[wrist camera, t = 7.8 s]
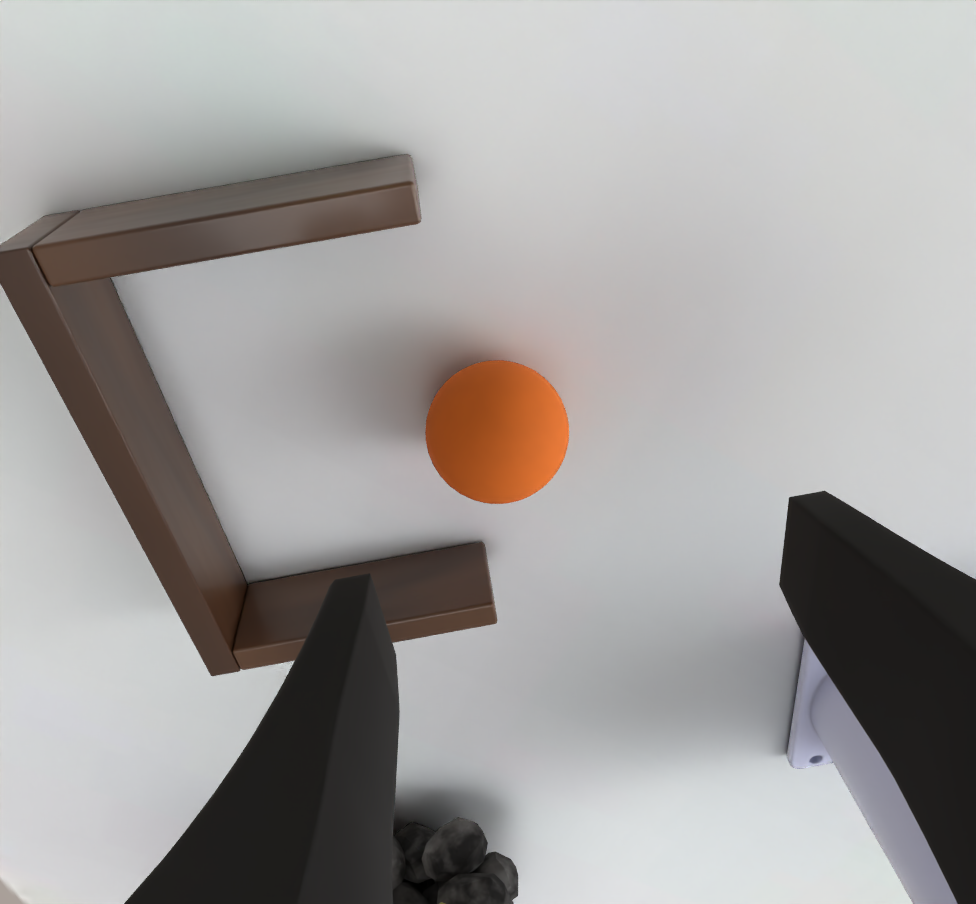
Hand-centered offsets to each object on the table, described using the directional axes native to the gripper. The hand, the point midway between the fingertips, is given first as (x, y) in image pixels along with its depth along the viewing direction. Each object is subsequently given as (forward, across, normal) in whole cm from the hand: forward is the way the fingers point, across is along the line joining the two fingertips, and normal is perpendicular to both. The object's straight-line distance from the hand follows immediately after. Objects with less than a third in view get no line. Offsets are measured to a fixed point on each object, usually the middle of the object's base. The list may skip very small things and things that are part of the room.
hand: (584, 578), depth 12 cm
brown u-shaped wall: (+7, +5, 0) cm, 9 cm away
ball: (+6, +1, 0) cm, 6 cm away
